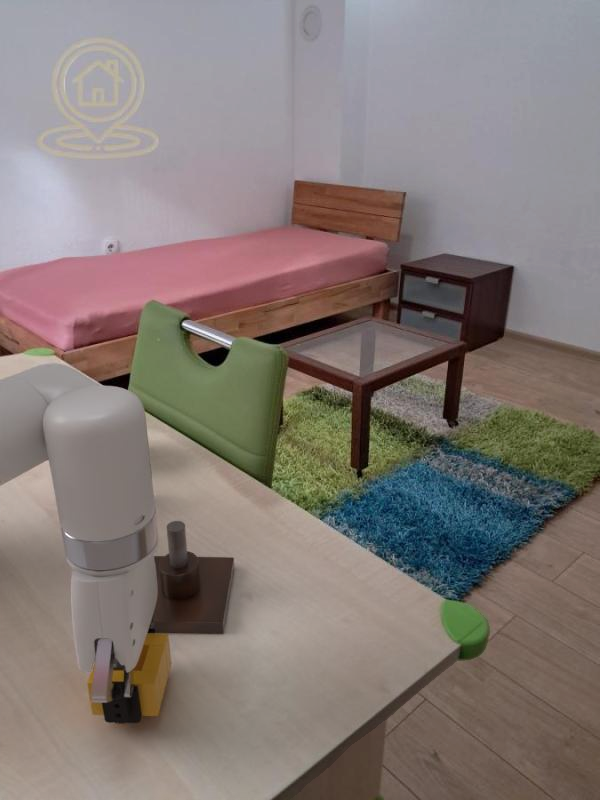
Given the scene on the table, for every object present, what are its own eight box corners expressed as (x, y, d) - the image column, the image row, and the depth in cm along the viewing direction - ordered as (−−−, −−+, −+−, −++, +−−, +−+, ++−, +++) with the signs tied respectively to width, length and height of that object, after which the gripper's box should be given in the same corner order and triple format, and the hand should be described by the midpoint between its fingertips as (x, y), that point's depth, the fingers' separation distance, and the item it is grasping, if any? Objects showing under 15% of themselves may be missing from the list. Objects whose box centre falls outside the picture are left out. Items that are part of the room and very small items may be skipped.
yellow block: (92, 715, 57) (86, 683, 56) (111, 662, 63) (106, 632, 61) (158, 716, 57) (154, 684, 56) (171, 663, 63) (168, 633, 61)
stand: (121, 631, 68) (111, 557, 64) (145, 565, 78) (138, 497, 74) (223, 633, 68) (219, 559, 64) (234, 567, 78) (231, 498, 74)
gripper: (98, 477, 60) (119, 621, 68) (23, 605, 45) (61, 774, 52) (176, 478, 60) (188, 623, 68) (129, 607, 45) (151, 776, 52)
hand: (133, 687), depth 60 cm, fingers closed on yellow block, 6 cm apart
